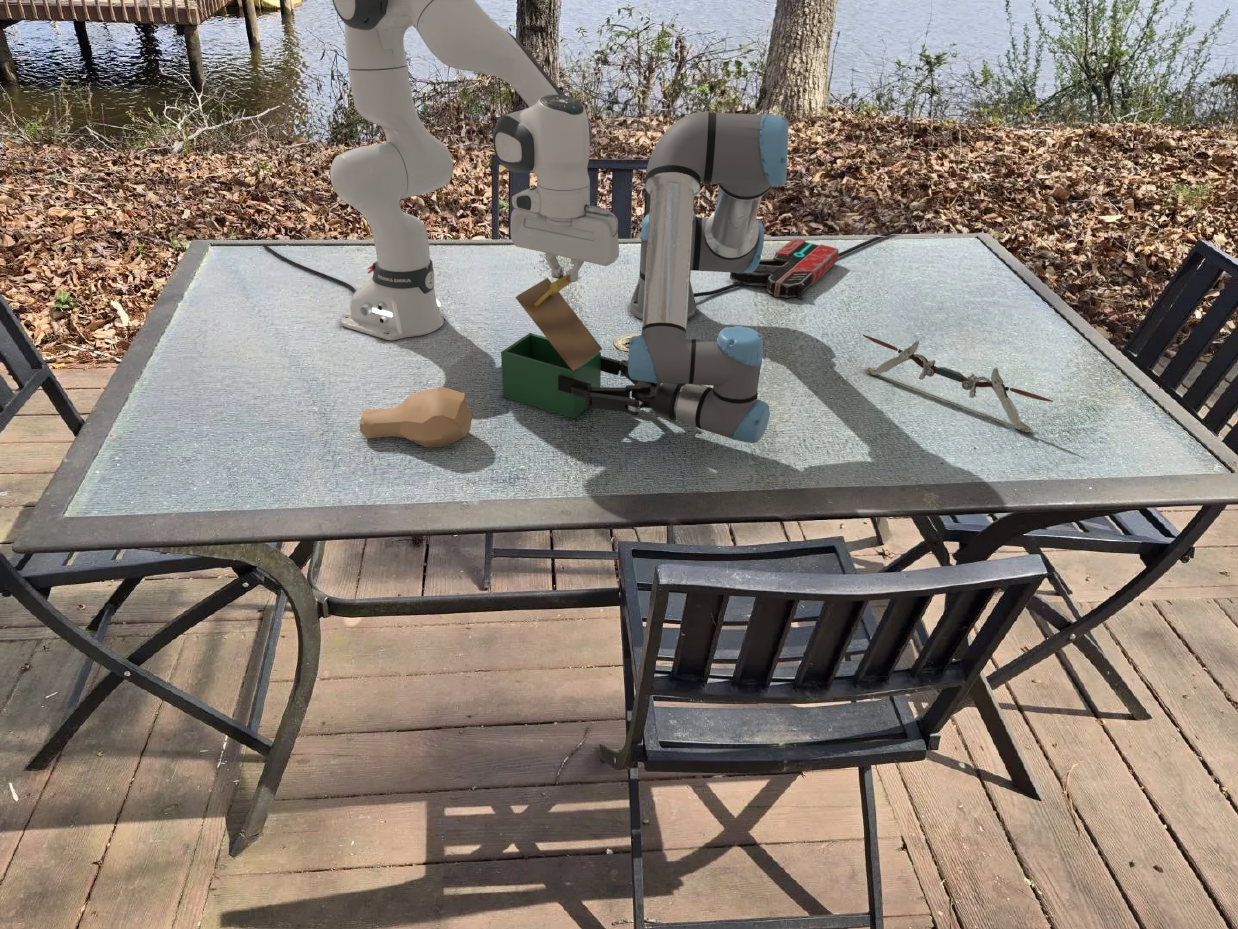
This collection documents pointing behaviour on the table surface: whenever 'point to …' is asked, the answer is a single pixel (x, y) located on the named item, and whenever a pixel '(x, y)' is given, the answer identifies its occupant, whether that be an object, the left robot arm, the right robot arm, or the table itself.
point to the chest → (544, 376)
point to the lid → (559, 322)
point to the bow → (967, 383)
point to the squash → (422, 418)
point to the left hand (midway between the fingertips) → (564, 279)
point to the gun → (791, 268)
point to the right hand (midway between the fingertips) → (574, 370)
